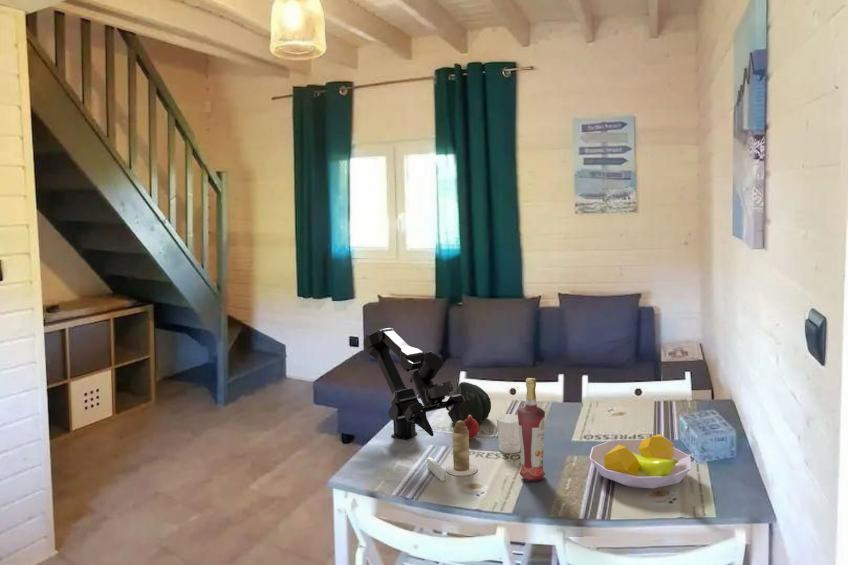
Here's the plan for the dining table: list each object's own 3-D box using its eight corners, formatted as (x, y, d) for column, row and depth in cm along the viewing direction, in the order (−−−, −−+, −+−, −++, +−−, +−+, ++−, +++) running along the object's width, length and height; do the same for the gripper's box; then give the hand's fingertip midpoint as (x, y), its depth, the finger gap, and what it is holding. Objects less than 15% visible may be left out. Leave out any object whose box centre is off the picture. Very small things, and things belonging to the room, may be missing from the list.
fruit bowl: (579, 459, 191) (579, 422, 190) (673, 457, 190) (673, 420, 189) (602, 504, 163) (602, 460, 162) (712, 502, 162) (713, 458, 161)
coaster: (440, 472, 186) (440, 470, 186) (455, 461, 193) (455, 459, 193) (468, 478, 181) (468, 477, 181) (482, 466, 188) (482, 465, 188)
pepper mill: (452, 471, 185) (451, 423, 183) (454, 464, 190) (453, 417, 188) (468, 471, 184) (467, 423, 183) (470, 465, 189) (468, 418, 187)
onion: (478, 442, 207) (477, 418, 206) (460, 442, 208) (459, 418, 207) (480, 436, 213) (479, 412, 212) (462, 435, 214) (462, 412, 213)
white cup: (525, 446, 203) (524, 415, 202) (520, 455, 196) (520, 423, 194) (500, 443, 206) (499, 413, 204) (494, 453, 198) (494, 421, 197)
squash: (505, 404, 227) (478, 370, 231) (485, 418, 215) (457, 382, 219) (479, 425, 235) (453, 391, 238) (459, 440, 222) (432, 404, 226)
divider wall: (427, 467, 189) (427, 457, 189) (431, 467, 190) (430, 457, 189) (441, 480, 180) (441, 470, 180) (444, 480, 180) (444, 469, 180)
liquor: (539, 485, 175) (538, 384, 171) (514, 480, 179) (512, 381, 175) (549, 475, 181) (548, 377, 177) (525, 470, 185) (523, 374, 181)
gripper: (407, 378, 190) (428, 426, 182) (460, 368, 200) (482, 413, 192) (396, 397, 198) (415, 444, 190) (447, 387, 207) (468, 430, 200)
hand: (446, 432), depth 193 cm, fingers open, 9 cm apart
